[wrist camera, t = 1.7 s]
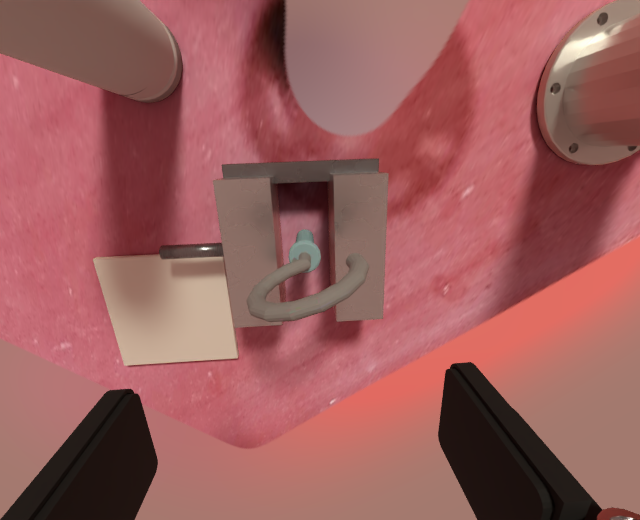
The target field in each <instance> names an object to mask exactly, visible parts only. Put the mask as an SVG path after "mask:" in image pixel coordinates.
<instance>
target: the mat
mask: <svg viewBox="0 0 640 520" xmlns="http://www.w3.org/2000/svg"><path fill="white" fill-rule="evenodd" d="M93 262H94V265H95V269H96V272H97V275H98V279H99V282H100V285H101V289H102V292H103V295H104V299H105V302H106V305H107V309H108V312H109V315H110V319H111V322H112V325H113V329H114V332H115V335H116V339H117V342H118V345H119V349H120V352H121V355H122V359H123V362H124V365H141V364H156V363H172V362H187V361H203V360H218V359H234V358H238V356H239V352H238V345H237V338H236V332H235V327H234V320H233V314H232V307H231V300H230V293H229V286H228V280H227V273H226V266H225V259H224V257H205V258H185V259H165V260H163V259H161V257H160V254H154V255H133V256H113V257H97V258H94V259H93Z"/></svg>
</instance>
